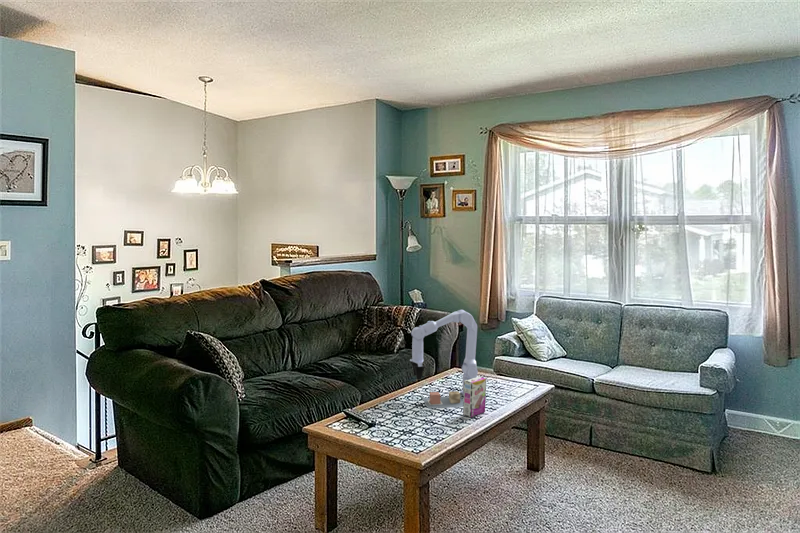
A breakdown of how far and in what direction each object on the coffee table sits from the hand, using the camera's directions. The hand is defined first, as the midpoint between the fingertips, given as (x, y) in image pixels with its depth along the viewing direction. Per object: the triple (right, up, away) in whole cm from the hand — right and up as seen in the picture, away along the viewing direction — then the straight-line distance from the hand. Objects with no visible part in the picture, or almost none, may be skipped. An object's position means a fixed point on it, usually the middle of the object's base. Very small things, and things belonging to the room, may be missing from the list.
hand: (417, 377), depth 283 cm
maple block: (+18, -11, -8) cm, 23 cm away
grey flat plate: (+13, -11, -9) cm, 19 cm away
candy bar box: (+26, -12, -25) cm, 38 cm away
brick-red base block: (+8, -11, -10) cm, 17 cm away
